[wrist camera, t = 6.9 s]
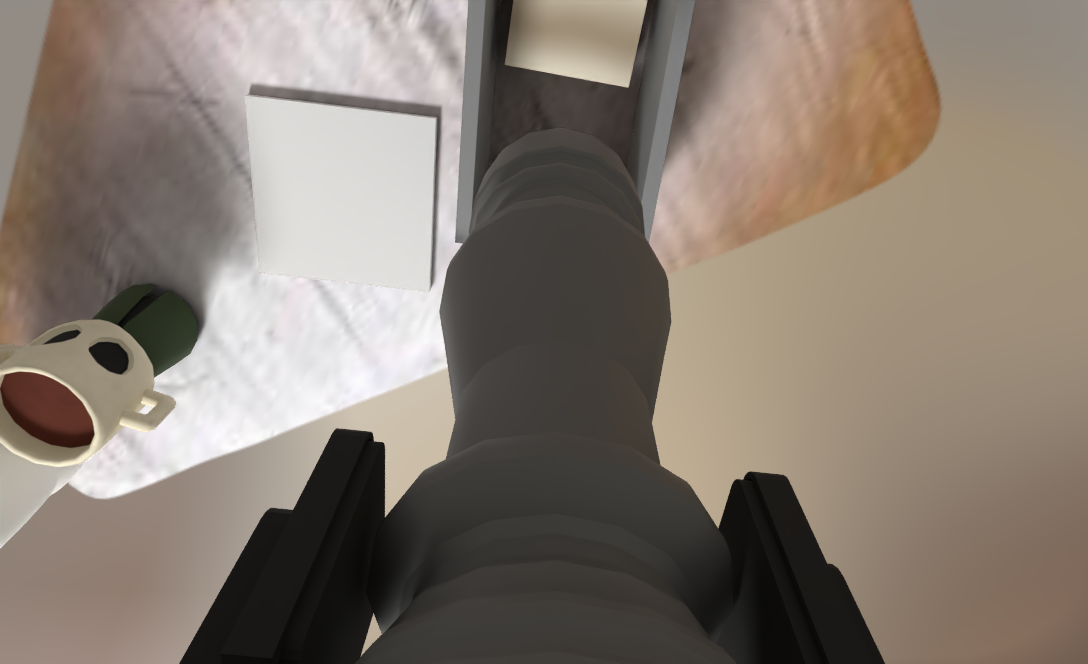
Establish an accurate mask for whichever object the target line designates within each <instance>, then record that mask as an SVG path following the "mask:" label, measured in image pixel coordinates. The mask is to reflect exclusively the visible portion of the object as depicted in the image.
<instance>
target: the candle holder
mask: <svg viewBox="0 0 1088 664" xmlns="http://www.w3.org/2000/svg"><path fill="white" fill-rule="evenodd" d="M468 233H469V236H468V238H467V239H466V240H465V242H464V243H463V245H462V246H461V247H460V249H459V250H458V252H457V253H456V255H455V256H454V257H453V259H452V260H451V262H450V264H449V267H448V269H447V273H446V278H445V284H444V289H443V295H442V300H441V305H440V311H439V312H440V318H441V325H442V331H443V337H444V343H445V350H446V357H447V364H448V371H449V378H450V385H451V392H452V398H453V405H454V413H455V424H454V428H453V432H452V436H451V440H450V444H449V449H448V452H447V456H446V460H444V461H442V462H440V463H438V464H436V465H434V466H432V467H430V468H428V469H426V470H424V471H423V472H422V473H421V474H420V476H419V477H418V478H417V479H416V480H415V482H414V483H413V484H412V485H411V487H410V488H409V489H408V490H407V492H406V493H405V494H404V495H403V496H402V498H401V499H400V500H399V501H398V503H397V504H396V505H395V506H394V508H393V509H392V510H391V511H390V512H389V514H388V515H387V516H386V517H385V518H384V520H383V521H382V523H381V524H380V526H379V528H378V531H377V534H376V537H375V540H374V545H373V551H372V557H371V564H370V570H369V576H368V582H367V588H366V595H367V597H368V600H369V602H370V605H371V607H372V610H373V612H374V615H375V617H376V620H377V623H378V625H379V628H380V630H381V633H382V635H381V636H380V637H379V638H378V639H377V640H376V641H375V642H374V643H373V644H372V645H371V646H370V647H369V648H368V649H367V650H366V651H365V653H364V654H363V655H362V656H361V657H360V658H359V659H358V660H357V661H356V662H355V664H737V663H736V662H735V661H734V660H733V659H732V657H731V656H730V655H729V654H728V653H727V652H726V651H725V650H724V649H723V648H721V647H720V646H718V645H717V644H716V642H717V640H718V638H719V636H720V634H721V632H722V630H723V629H724V627H725V625H726V623H727V621H728V619H729V617H730V615H731V614H732V612H733V610H734V609H733V587H732V564H731V555H730V552H729V548H728V545H727V542H726V540H725V538H724V537H723V535H722V534H721V532H720V530H719V529H718V528H717V526H716V525H715V523H714V521H713V520H712V519H711V517H710V515H709V514H708V512H707V511H706V509H705V508H704V506H703V505H702V503H701V501H700V500H699V498H698V497H697V495H696V494H695V492H694V491H693V489H692V488H691V486H690V485H689V484H688V483H687V482H686V481H684V480H683V479H681V478H680V477H678V476H676V475H675V474H673V473H672V472H670V471H668V470H667V469H665V468H664V467H662V466H661V465H660V461H659V456H658V451H657V446H656V442H655V436H654V432H653V427H652V419H653V414H654V408H655V403H656V398H657V392H658V387H659V382H660V376H661V370H662V364H663V360H664V354H665V350H666V345H667V340H668V336H669V330H670V325H671V312H670V300H669V288H668V280H667V276H666V273H665V271H664V269H663V267H662V266H661V264H660V262H659V260H658V259H657V257H656V255H655V253H654V252H653V250H652V248H651V246H650V245H649V243H648V241H647V239H646V238H645V229H644V218H643V208H642V204H641V201H640V198H639V196H638V193H637V190H636V187H635V185H634V182H633V180H632V178H631V176H630V175H629V173H628V171H627V169H626V167H625V166H624V164H623V162H622V160H621V158H620V157H619V155H618V154H617V153H616V152H614V151H613V150H612V149H610V148H609V147H608V146H607V145H605V144H604V143H603V142H601V141H600V140H599V139H597V138H596V137H595V136H593V135H591V134H587V133H583V132H579V131H575V130H571V129H567V128H563V127H559V128H553V129H547V130H541V131H534V132H529V133H527V134H526V135H524V136H523V137H521V138H519V139H518V140H516V141H515V142H513V143H512V144H510V145H508V146H507V147H505V148H504V149H502V150H501V152H500V153H499V155H498V156H497V158H496V159H495V161H494V162H493V163H492V165H491V166H490V168H489V169H488V171H487V172H486V174H485V175H484V178H483V180H482V182H481V185H480V187H479V190H478V192H477V195H476V197H475V200H474V205H473V211H472V216H471V221H470V226H469V231H468Z"/></svg>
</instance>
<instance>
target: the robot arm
mask: <svg viewBox="0 0 1088 664" xmlns="http://www.w3.org/2000/svg"><path fill="white" fill-rule="evenodd" d="M384 518H385V445H384V443H383V442H374V438H373V433H372V432H367V431H357V430H347V429H338V428H337V429H336V430H334V432H333V433H332V435H331V437H330V439H329V441H328V443H327V445H326V447H325V449H324V451H323V453H322V455H321V457H320V459H319V461H318V463H317V464H316V466H315V469H314V470H313V472H312V474H311V476H310V478H309V480H308V482H307V484H306V486H305V488H304V490H303V492H302V494H301V496H300V498H299V500H298V502H297V504H296V506H295V507H294V509H293V510H288V509H277V508H270V509H269V510H267V511H266V512H265V514H264V515H263V517H262V518H261V519H260V521H259V523H258V525H257V527H256V528H255V530H254V532H253V534H252V535H251V537H250V539H249V541H248V543H247V545H246V546H245V548H244V550H243V551H242V553H241V555H240V557H239V559H238V560H237V562H236V564H235V566H234V568H233V569H232V571H231V573H230V575H229V576H228V578H227V580H226V582H225V583H224V585H223V587H222V589H221V590H220V592H219V594H218V596H217V598H216V599H215V602H214V603H213V605H212V607H211V608H210V610H209V612H208V614H207V616H206V617H205V619H204V621H203V622H202V624H201V626H200V628H199V630H198V631H197V633H196V635H195V637H194V638H193V640H192V642H191V644H190V646H189V647H188V649H187V651H186V653H185V654H184V656H183V658H182V660H181V661H180V663H179V664H355V662H356V661H357V660H358V659H359V658H360V656H361V653H362V649H363V646H364V643H365V639H366V636H367V633H368V629H369V626H370V622H371V619H372V616H373V613H374V612H373V610H372V607H371V605H370V602H369V600H368V597H367V595H366V588H367V582H368V576H369V570H370V564H371V557H372V551H373V545H374V540H375V537H376V534H377V531H378V528H379V526H380V524H381V523H382V521H383V520H384ZM719 530H720V532H721V534H722V535H723V537H724V538H725V540H726V542H727V545H728V548H729V552H730V555H731V564H732V587H733V609H734V610H733V612H732V614H731V615H730V617H729V619H728V621H727V623H726V625H725V627H724V629H723V630H722V632H721V634H720V636H719V638H718V640H717V642H716V644H717V645H718V646H720V647H721V648H723V649H724V650H725V651H726V652H727V653H728V654H729V655H730V656H731V657H732V659H733V660H734V661H735V662H736V663H737V664H885V663H884V661H883V658H882V656H881V654H880V652H879V650H878V648H877V646H876V644H875V642H874V640H873V638H872V635H871V633H870V631H869V629H868V627H867V625H866V623H865V621H864V619H863V617H862V615H861V613H860V610H859V608H858V606H857V604H856V602H855V600H854V598H853V596H852V594H851V592H850V590H849V587H848V585H847V583H846V581H845V579H844V577H843V575H842V574H841V572H840V571H839V569H838V568H837V567H835V566H834V565H833V564H827V562H826V560H825V558H824V556H823V554H822V552H821V549H820V548H819V545H818V543H817V540H816V538H815V536H814V534H813V532H812V530H811V528H810V526H809V523H808V521H807V519H806V517H805V515H804V512H803V510H802V508H801V506H800V504H799V502H798V499H797V497H796V495H795V493H794V491H793V488H792V486H791V484H790V482H789V480H788V479H787V477H786V476H784V475H779V474H769V473H760V472H748V473H747V474H746V475H745V477H744V479H743V480H740V479H736V480H735V481H734V482H733V484H732V486H731V490H730V494H729V496H728V500H727V503H726V506H725V509H724V513H723V516H722V519H721V522H720V525H719Z"/></svg>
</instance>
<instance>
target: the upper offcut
mask: <svg viewBox="0 0 1088 664" xmlns="http://www.w3.org/2000/svg"><path fill="white" fill-rule="evenodd" d="M646 5H647V0H513V7H512V14H511V22H510V29H509V37H508V44H507V52H506V59H505V65H509V66H514V67H519V68H525V69H530V70H536V71H541V72H547V73H552V74H557V75H563V76H568V77H574V78H579V79H584V80H590V81H595V82H601V83H606V84H612V85H617V86H622V87H628V88H629V83H630V79H631V74H632V70H633V65H634V60H635V56H636V51H637V46H638V42H639V37H640V33H641V28H642V23H643V19H644V14H645V9H646Z"/></svg>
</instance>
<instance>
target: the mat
mask: <svg viewBox="0 0 1088 664" xmlns="http://www.w3.org/2000/svg"><path fill="white" fill-rule="evenodd" d="M245 107H246V119H247V130H248V142H249V154H250V165H251V177H252V189H253V200H254V212H255V224H256V235H257V247H258V259H259V270H260V273H264V274H273V275H282V276H290V277H299V278H308V279H317V280H326V281H335V282H343V283H352V284H361V285H370V286H379V287H388V288H397V289H405V290H414V291H423V292H430V290H431V271H432V245H433V219H434V193H435V167H436V141H437V117H434V116H426V115H417V114H409V113H401V112H392V111H384V110H376V109H367V108H359V107H351V106H342V105H334V104H326V103H317V102H309V101H301V100H292V99H284V98H276V97H267V96H259V95H251V94H248V95H245Z"/></svg>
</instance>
